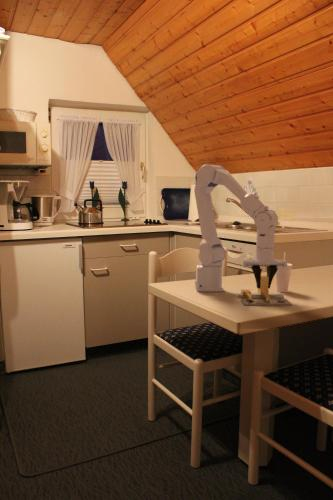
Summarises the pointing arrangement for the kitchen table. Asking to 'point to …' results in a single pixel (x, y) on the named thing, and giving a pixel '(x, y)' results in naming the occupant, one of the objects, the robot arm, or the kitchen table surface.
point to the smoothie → (283, 277)
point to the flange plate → (266, 302)
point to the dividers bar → (257, 295)
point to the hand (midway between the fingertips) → (263, 287)
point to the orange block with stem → (264, 287)
